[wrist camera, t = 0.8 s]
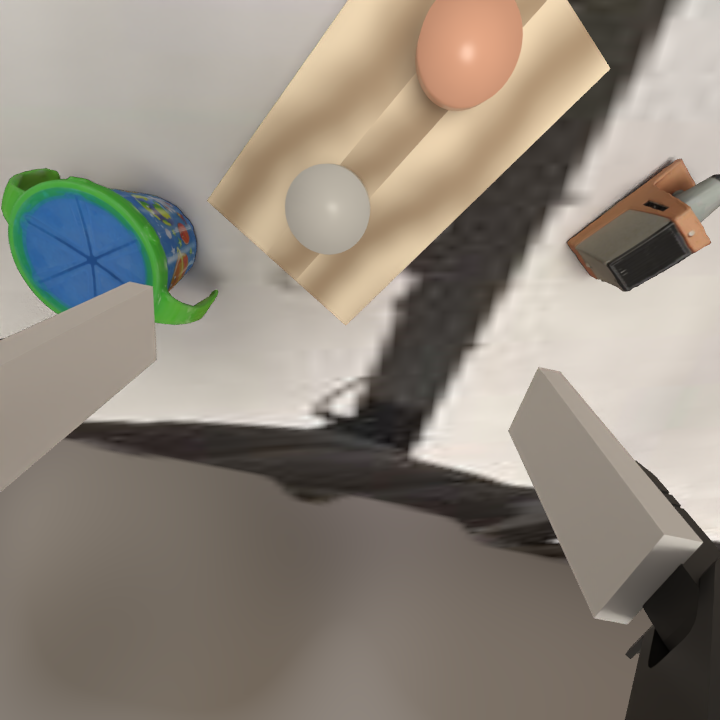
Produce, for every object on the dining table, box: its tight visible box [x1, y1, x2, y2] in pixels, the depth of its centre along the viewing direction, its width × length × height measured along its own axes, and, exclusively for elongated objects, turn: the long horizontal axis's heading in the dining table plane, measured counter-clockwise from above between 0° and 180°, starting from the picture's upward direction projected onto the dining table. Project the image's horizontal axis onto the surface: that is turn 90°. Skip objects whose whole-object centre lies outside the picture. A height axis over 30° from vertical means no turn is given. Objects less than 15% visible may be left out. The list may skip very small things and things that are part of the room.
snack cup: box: [1, 168, 218, 325], centre depth 31 cm, size 16×10×10 cm
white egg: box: [285, 164, 370, 255], centre depth 26 cm, size 5×5×6 cm
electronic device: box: [567, 159, 720, 292], centre depth 30 cm, size 4×10×8 cm, turn 135°
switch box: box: [207, 0, 610, 325], centre depth 29 cm, size 14×24×6 cm, turn 136°
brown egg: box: [415, 0, 523, 111], centre depth 22 cm, size 5×5×6 cm
